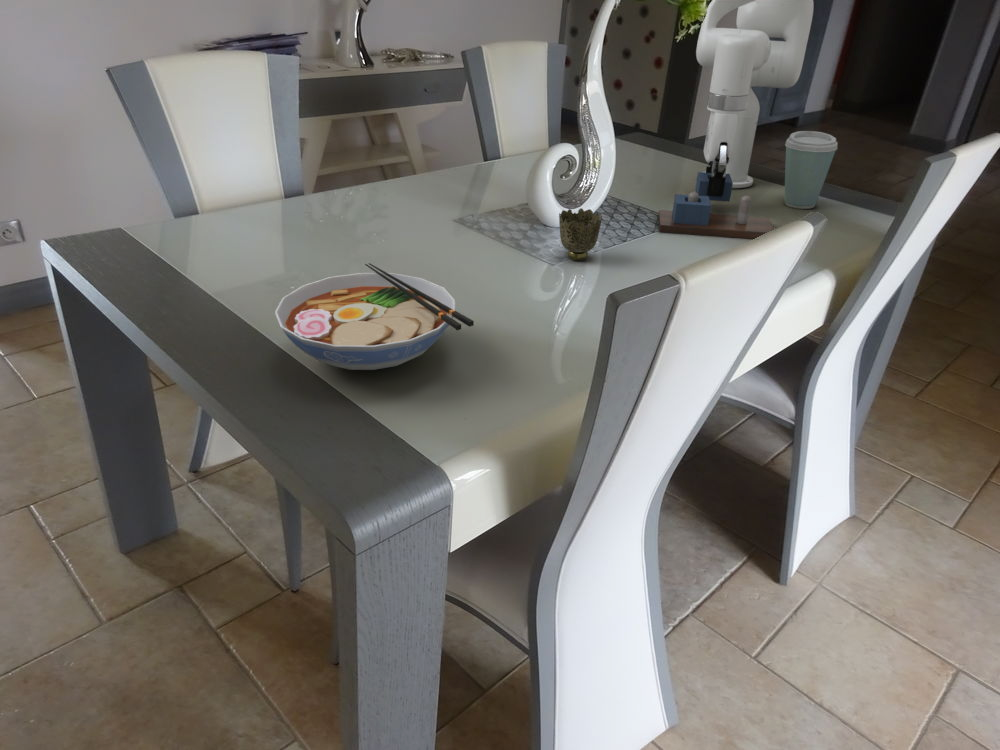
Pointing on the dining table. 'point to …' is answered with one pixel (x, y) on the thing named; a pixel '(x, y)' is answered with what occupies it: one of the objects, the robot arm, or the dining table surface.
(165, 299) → the dining table surface
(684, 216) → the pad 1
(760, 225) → the wooden peg board
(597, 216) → the cup
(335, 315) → the ramen bowl
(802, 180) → the disposable coffee cup
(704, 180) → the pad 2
